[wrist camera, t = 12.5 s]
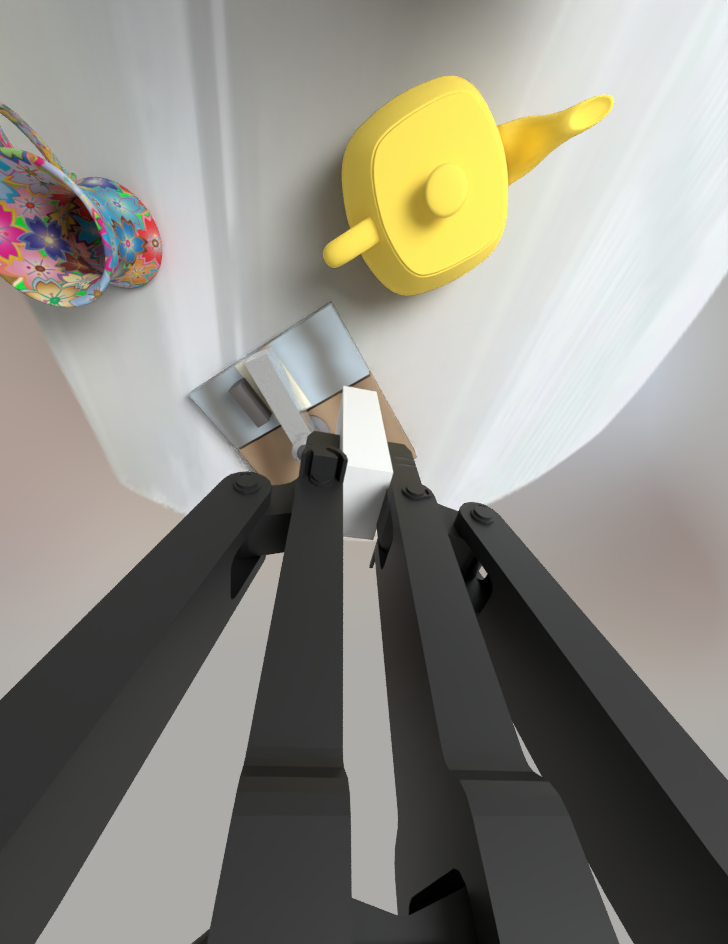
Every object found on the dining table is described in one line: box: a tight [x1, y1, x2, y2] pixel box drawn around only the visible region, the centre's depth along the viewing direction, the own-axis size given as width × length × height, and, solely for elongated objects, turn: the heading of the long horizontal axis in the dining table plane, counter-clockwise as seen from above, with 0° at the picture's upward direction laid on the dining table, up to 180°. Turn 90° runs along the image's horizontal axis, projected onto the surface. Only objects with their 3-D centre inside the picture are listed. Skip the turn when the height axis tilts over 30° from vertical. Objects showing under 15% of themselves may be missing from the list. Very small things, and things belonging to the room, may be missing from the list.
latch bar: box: [244, 346, 321, 463], centre depth 39 cm, size 13×3×4 cm, turn 22°
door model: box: [189, 302, 417, 485], centre depth 43 cm, size 19×21×4 cm
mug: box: [0, 103, 162, 307], centre depth 29 cm, size 12×9×11 cm
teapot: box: [323, 76, 614, 296], centre depth 28 cm, size 13×20×12 cm
